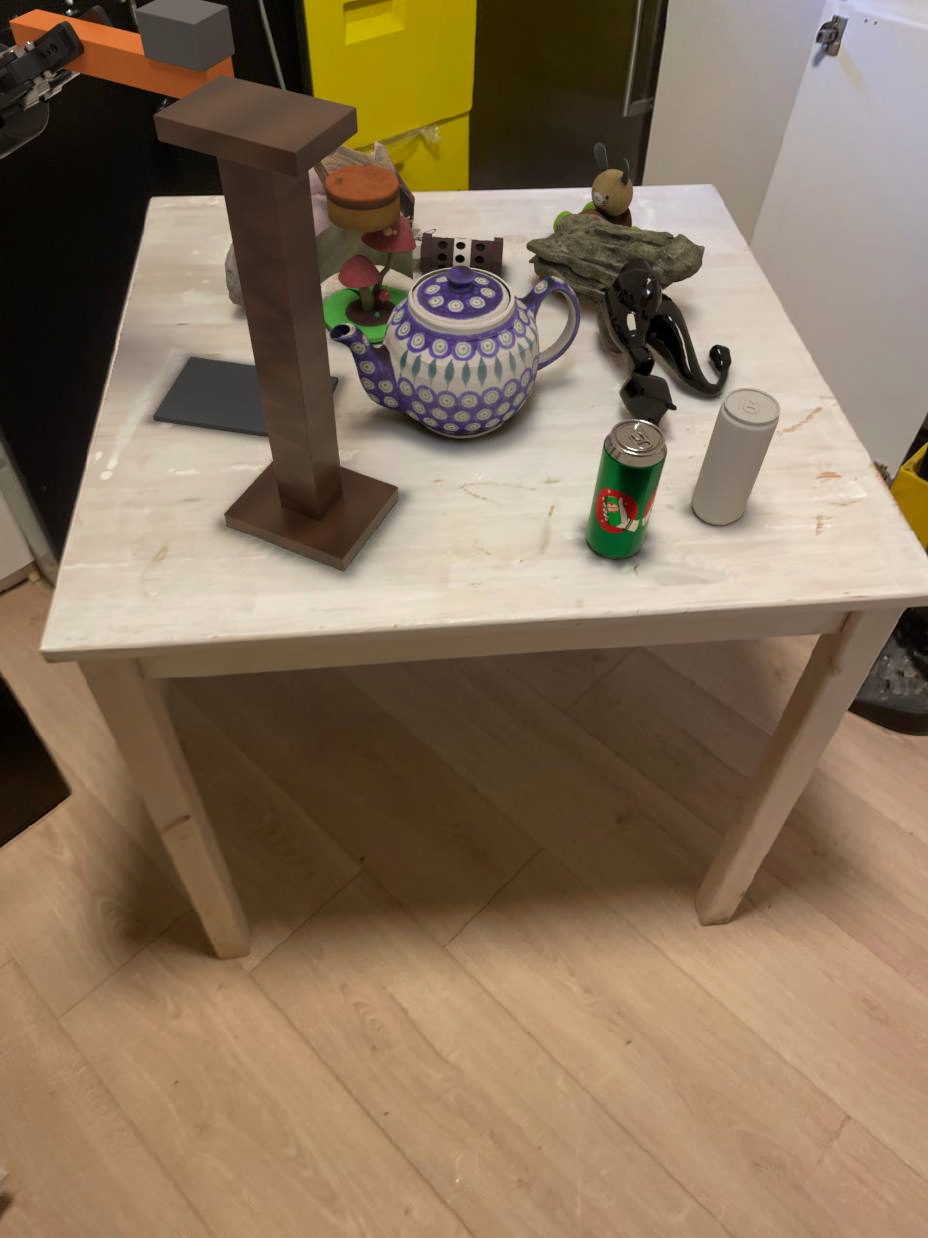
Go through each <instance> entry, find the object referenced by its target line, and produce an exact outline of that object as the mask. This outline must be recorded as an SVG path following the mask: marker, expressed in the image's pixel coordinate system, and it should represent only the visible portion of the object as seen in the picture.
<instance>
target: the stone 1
mask: <svg viewBox="0 0 928 1238" xmlns="http://www.w3.org/2000/svg"><path fill="white" fill-rule="evenodd" d="M224 269H225V270H224V273H225V285H226V288H227V290H228V298H229V300H230V301H231V303H232V304H234V305H238V306H240V307H242V308H245V307H244V301H243V296H242V290H241V285H240V280H239V274H238V269H237V263H236V258H235V253H234V247H233V242H232V243H231V244H230V246H229V249H228V251H227V254H226V256H225V261H224Z"/></svg>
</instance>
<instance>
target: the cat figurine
mask: <svg viewBox="0 0 928 1238" xmlns="http://www.w3.org/2000/svg"><path fill="white" fill-rule="evenodd" d="M595 312H596V322H597V328H598V329H597V330H598V334H599V339H600V340H601V341H600V342H601V344H602V345H603V347H605V349H606V350H608V351H609V352H611V353H613V354H615V355H623V357H624V359H625V381H624V382H623V383H622V385H621V387H620V389H619V390H618V392H619V397H620V399H621V402H622V404H623V405H624V407H625V410H626V411H627V412H628V413H629V415H630V416H631V417H632V418H633V419H639V420H644V421H647V422H650V423H652V424H654V425H656V426H657V427H658V428H659V425H660V423H661V420H662V418H663V417H664V416H665V415H666V413H667V412H668V411H672V412H673V411H677V409H678V406H677V405H675V404H674V403H673V400H672V395H671V391H670V388H669V387H670V386H669V385H668V382H667V380H666V379H665V378H664V377H660V376H658V375H655V374H652V373H653V369H654V367H655V364H656V358H655V356H654V354H653V353H652V351H651V350H650V349H649V348H648V347H647V345H648V346H650V348H652V350H654V351H655V352H656V353H657V354H658V355H659V356H660V357H661V359H662V360H663V361H664V362H665V364H666V365H667V366H668V367H669V368H670V370H672V371H673V373H674V374H675V375H676V376H677V377H678V379H680V381H681V382H682V383H683V384H685V385H686V386H688V387H689V388H691V389H693V390H695V391H697V392H699V393H701V394H705V395H708V396H718V394H720V392H721V391H722V390H723V388H724V387H725V385H726V382H727V380H728V377H729V370H730V367H731V365H732V357H731V350H730V348H729V347H727V346H726V345H722V344H714V345H712V347H711V348H710V349H709V351H708V359H709V360H710V361H711V364H712V365H713V369H714V370H715V371H716V372H717V373H718V378H717V382H716V383H712V382H710V381H709V380H708V378H707V377H706V376H705V375H704V373H703V370H702V369H701V366H700V364H699V359H698V358H697V354H696V351H695V347H694V343H693V341H692V338H691V335H690V331H689V329H688V325H687V323H686V320H685V318H684V315H683V312H682V311H681V309H680V307H679V306H678V304H676V302H675V301H674V300H673V299H672V298H671V297H669V296H668V295H667V294H666V293H664V292H663V290H662V286H661V282H660V279H659V277H658V275H657V274H656V273H655V272H654V270H653V268H652V267H651V265H650V264H649V262H648V261H647V259H645V258H637V259H634V260H631V261H630V262H628V263H626V264H624V265H623V267H622V269H621V270H620V273H619V275H618V276H617V278H616V279H615V280H614V282H613V283H612V285H611V286H610V287H609V288H608V289H607V291H606V292H605V294H604V296H603V300H602V302H601V303H600V305H597V307H596V311H595Z"/></svg>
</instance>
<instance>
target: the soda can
mask: <svg viewBox="0 0 928 1238" xmlns="http://www.w3.org/2000/svg"><path fill="white" fill-rule="evenodd" d="M667 455H668V446H667V444H666V436H665V434H664V432H663V431H662V429H661V428H659V426H658V427H657V426H656V425H654V424H652V423H650V422H647V421H644V420H639V419H635V418H630V419H624V420H621V421H618V422H617V423H615V424H614V425H613V427H612V428H611V430H610V432H609V433H608V434H607V435H606V436H605V437H604V439H603V445H602V449H601V455H600V461H599V465H598V470H597V475H596V479H595V480H596V481H595V485H594V490H593V496H592V500H591V506H590V510H589V516H588V521H587V524H586V525H587V526H586V532H585V538H586V540H587V543H588V544H589V546H590V547H591V548H592V549H593V550H594V551H595V552H596V553H598V554H599V555H601V556H603V557H606V558H609V559H624V558H625V559H626V558H628V557H631V556H633V555H635V554H637V552H639V551H640V550H641V548H642V546H643V543H644V540H645V537H646V533H647V529H648V526H649V522H650V519H651V515H652V510H653V507H654V503H655V500H656V497H657V491H658V489H659V485H660V481H661V477H662V473H663V471H664V467H665V464H666V463H665V462H666V459H667Z"/></svg>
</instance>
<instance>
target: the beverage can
mask: <svg viewBox="0 0 928 1238" xmlns="http://www.w3.org/2000/svg"><path fill="white" fill-rule="evenodd" d="M780 414H781V405H780V403H779V401H778V400H777V398H776V397H774V396H773V395H772V394H770V393H768V392H767V391H764V390H762V389H759V388H753V387H738V388H735V389H732V390H730V392H728V393H727V394H726V395H725V397H724V400H723V401H722V402H721V404H720V406H719V410H718V413H717V416H716V420H715V423H714V425H713V429H712V433H711V436H710V438H709V442H708V445H707V448H706V451H705V455H704V458H703V460H702V464H701V467H700V470H699V474H698V477H697V480H696V483H695V486H694V490H693V493H692V495H691V505H692V509H693V511H694V513H695V515H696V516H697V517H698V518H699V519H701V520H702V521H703V522H706V523H708V524H711V525H715V526H725V525H728V524H731V523H733V522H735V521H737V520H738V519H740V518H741V516H742V515H743V514H744V512H745V509H746V506H747V504H748V501H749V499H750V496H751V495H752V491H753V488H754V486H755V484H756V480H757V479H758V476H759V473H760V471H761V468H762V465H763V462H764V460H765V457H766V455H767V453H768V450H769V448H770V444H771V442H772V440H773V437H774V435H775V432H776V430H777V426H778V425H779V421H780Z"/></svg>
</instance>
